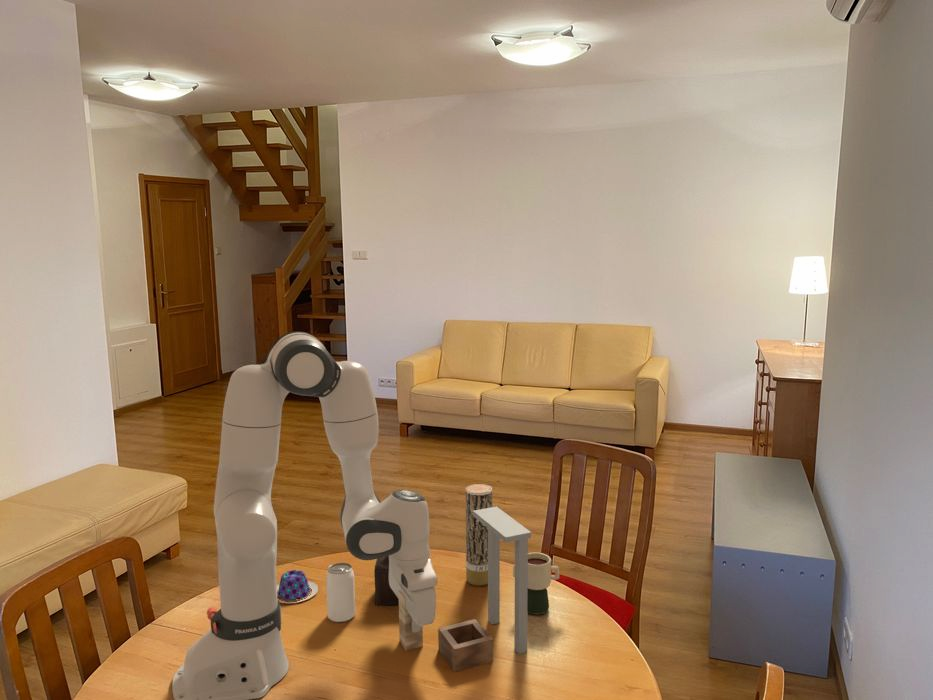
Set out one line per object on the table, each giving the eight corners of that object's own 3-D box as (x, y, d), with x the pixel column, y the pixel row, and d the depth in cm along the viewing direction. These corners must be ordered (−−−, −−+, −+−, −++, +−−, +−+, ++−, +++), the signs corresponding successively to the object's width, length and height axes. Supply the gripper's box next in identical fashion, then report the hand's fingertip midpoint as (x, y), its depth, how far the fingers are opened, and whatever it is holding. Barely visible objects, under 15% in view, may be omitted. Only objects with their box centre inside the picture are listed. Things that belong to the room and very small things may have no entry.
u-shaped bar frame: (505, 659, 148) (505, 537, 144) (473, 622, 162) (472, 510, 158) (530, 652, 150) (531, 532, 146) (496, 617, 164) (496, 506, 160)
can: (349, 624, 162) (347, 575, 160) (323, 621, 163) (321, 573, 161) (359, 610, 168) (357, 563, 166) (333, 607, 169) (332, 560, 167)
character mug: (558, 603, 171) (558, 552, 169) (559, 618, 164) (560, 566, 162) (513, 601, 172) (513, 551, 170) (512, 616, 165) (513, 564, 163)
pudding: (278, 582, 183) (277, 563, 182) (323, 583, 182) (322, 564, 181) (262, 605, 171) (261, 585, 170) (311, 606, 170) (310, 586, 170)
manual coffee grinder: (419, 583, 181) (418, 517, 178) (417, 605, 170) (415, 535, 167) (359, 584, 181) (357, 518, 178) (353, 606, 170) (350, 536, 167)
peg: (405, 650, 151) (404, 598, 149) (399, 641, 155) (398, 590, 153) (422, 646, 153) (422, 594, 151) (416, 637, 156) (415, 586, 155)
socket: (454, 671, 144) (454, 649, 143) (438, 649, 151) (438, 628, 151) (493, 661, 147) (493, 639, 146) (475, 639, 155) (475, 618, 154)
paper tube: (460, 580, 183) (460, 488, 179) (479, 572, 187) (479, 482, 183) (478, 589, 178) (478, 495, 174) (497, 580, 182) (497, 488, 178)
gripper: (381, 548, 159) (382, 605, 161) (411, 588, 141) (412, 651, 143) (407, 543, 162) (408, 599, 164) (440, 581, 143) (441, 644, 145)
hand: (410, 624), depth 153 cm, fingers open, 4 cm apart
